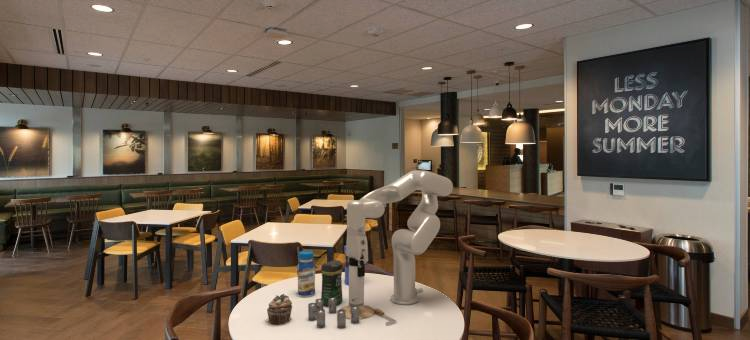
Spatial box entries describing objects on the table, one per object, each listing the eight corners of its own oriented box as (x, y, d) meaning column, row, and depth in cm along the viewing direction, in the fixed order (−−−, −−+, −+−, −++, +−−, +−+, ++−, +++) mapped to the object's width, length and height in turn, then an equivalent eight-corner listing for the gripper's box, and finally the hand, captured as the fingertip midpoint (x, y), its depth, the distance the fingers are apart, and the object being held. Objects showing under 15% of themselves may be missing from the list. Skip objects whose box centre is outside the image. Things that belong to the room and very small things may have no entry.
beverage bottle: (317, 291, 190) (317, 250, 190) (313, 297, 182) (312, 254, 181) (300, 291, 191) (299, 249, 190) (295, 297, 183) (294, 254, 182)
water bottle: (342, 281, 205) (341, 233, 205) (358, 279, 209) (358, 232, 208) (348, 287, 197) (348, 236, 196) (365, 284, 201) (365, 235, 200)
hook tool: (367, 314, 162) (367, 311, 162) (377, 312, 165) (377, 308, 165) (387, 325, 151) (387, 321, 151) (397, 322, 154) (397, 318, 154)
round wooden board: (361, 302, 175) (361, 302, 175) (382, 313, 163) (382, 312, 163) (331, 310, 166) (331, 309, 166) (351, 322, 154) (351, 321, 154)
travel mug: (354, 308, 160) (354, 259, 159) (345, 303, 165) (345, 255, 165) (367, 305, 164) (367, 256, 163) (358, 300, 169) (358, 253, 168)
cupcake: (281, 314, 163) (281, 289, 163) (297, 320, 157) (296, 294, 157) (261, 321, 156) (261, 296, 156) (277, 328, 150) (276, 301, 149)
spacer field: (336, 308, 169) (336, 294, 169) (361, 322, 154) (361, 307, 154) (303, 317, 160) (302, 302, 160) (325, 333, 145) (325, 317, 144)
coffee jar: (333, 308, 169) (333, 265, 168) (318, 305, 173) (317, 262, 172) (345, 301, 177) (345, 259, 177) (330, 298, 181) (330, 257, 181)
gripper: (376, 233, 159) (376, 277, 159) (352, 227, 173) (352, 268, 173) (360, 235, 154) (360, 281, 155) (337, 229, 168) (337, 271, 169)
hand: (356, 274), depth 164 cm, fingers closed on travel mug, 6 cm apart
